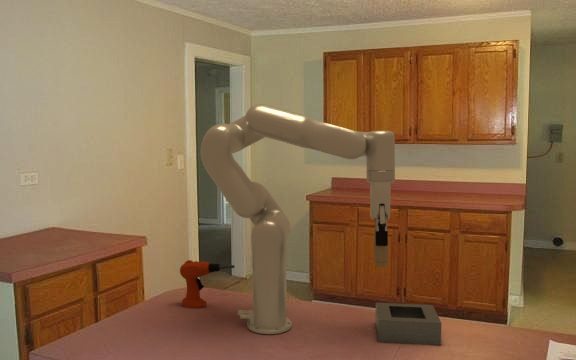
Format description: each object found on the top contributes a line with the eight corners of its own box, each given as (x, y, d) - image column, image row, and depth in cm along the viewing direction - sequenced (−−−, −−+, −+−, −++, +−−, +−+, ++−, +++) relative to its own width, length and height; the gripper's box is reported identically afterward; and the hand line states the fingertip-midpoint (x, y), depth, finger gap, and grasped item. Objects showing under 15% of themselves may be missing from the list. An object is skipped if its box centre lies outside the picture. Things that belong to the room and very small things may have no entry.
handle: (373, 268, 136) (372, 213, 134) (371, 262, 142) (371, 209, 141) (391, 268, 135) (391, 213, 134) (389, 262, 142) (388, 209, 140)
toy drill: (236, 307, 156) (230, 259, 155) (180, 309, 160) (174, 262, 159) (241, 301, 160) (235, 255, 159) (186, 304, 165) (180, 259, 164)
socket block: (378, 342, 133) (378, 319, 133) (375, 322, 147) (375, 302, 147) (440, 345, 132) (441, 322, 131) (432, 325, 145) (432, 305, 145)
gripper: (365, 174, 145) (366, 237, 147) (367, 179, 129) (368, 250, 130) (392, 174, 144) (392, 237, 146) (397, 179, 128) (398, 250, 129)
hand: (381, 243), depth 138 cm, fingers closed on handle, 4 cm apart
